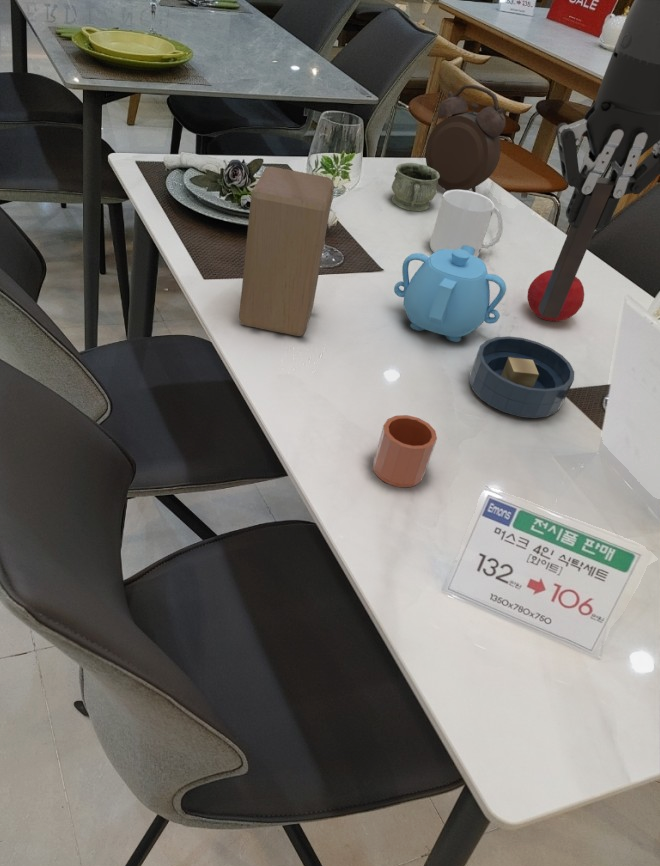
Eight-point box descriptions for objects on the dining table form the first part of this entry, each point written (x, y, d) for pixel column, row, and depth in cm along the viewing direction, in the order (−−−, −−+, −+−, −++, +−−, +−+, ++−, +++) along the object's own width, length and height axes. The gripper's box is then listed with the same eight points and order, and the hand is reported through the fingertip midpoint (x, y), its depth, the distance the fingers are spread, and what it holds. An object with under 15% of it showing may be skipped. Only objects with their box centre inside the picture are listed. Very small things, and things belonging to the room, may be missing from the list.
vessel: (389, 188, 157) (396, 156, 153) (431, 195, 157) (439, 164, 153) (388, 211, 149) (395, 178, 144) (433, 219, 149) (442, 186, 144)
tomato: (572, 335, 122) (593, 290, 117) (518, 320, 124) (536, 275, 118) (574, 311, 129) (594, 266, 123) (523, 297, 130) (540, 252, 124)
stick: (553, 310, 94) (608, 178, 83) (557, 318, 93) (614, 185, 82) (537, 308, 94) (590, 175, 83) (541, 316, 92) (596, 182, 81)
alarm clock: (490, 199, 160) (523, 95, 146) (473, 208, 155) (506, 101, 141) (431, 176, 165) (458, 73, 152) (413, 183, 161) (439, 78, 147)
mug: (428, 256, 137) (442, 205, 130) (430, 236, 143) (444, 185, 137) (494, 270, 136) (512, 219, 129) (493, 249, 142) (510, 199, 136)
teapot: (480, 368, 112) (507, 295, 104) (372, 335, 115) (390, 261, 107) (501, 309, 126) (527, 240, 117) (405, 281, 129) (423, 212, 120)
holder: (419, 455, 95) (432, 417, 91) (426, 490, 91) (440, 451, 87) (370, 451, 95) (381, 412, 91) (375, 485, 90) (386, 446, 86)
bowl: (547, 371, 114) (559, 341, 110) (571, 425, 104) (586, 395, 101) (460, 361, 113) (471, 331, 109) (477, 416, 103) (489, 385, 100)
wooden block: (313, 307, 119) (336, 176, 105) (303, 340, 111) (327, 204, 98) (250, 294, 119) (264, 162, 105) (236, 326, 112) (250, 189, 98)
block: (523, 381, 110) (532, 359, 107) (529, 395, 107) (539, 374, 105) (499, 378, 109) (508, 356, 107) (505, 393, 107) (513, 371, 104)
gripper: (707, 50, 77) (630, 219, 89) (576, 31, 76) (516, 205, 88) (740, 71, 72) (654, 248, 84) (599, 51, 70) (532, 233, 82)
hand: (583, 225), depth 86 cm, fingers closed on stick, 2 cm apart
